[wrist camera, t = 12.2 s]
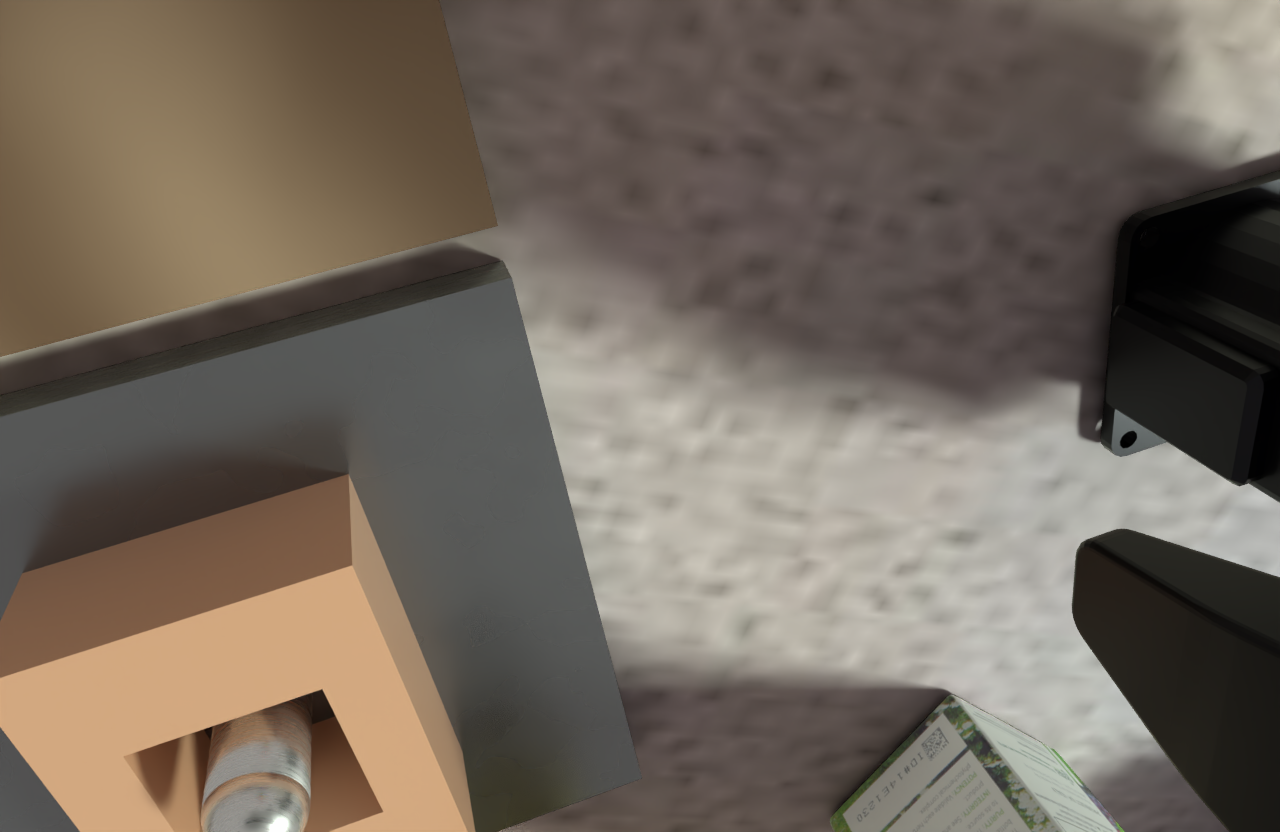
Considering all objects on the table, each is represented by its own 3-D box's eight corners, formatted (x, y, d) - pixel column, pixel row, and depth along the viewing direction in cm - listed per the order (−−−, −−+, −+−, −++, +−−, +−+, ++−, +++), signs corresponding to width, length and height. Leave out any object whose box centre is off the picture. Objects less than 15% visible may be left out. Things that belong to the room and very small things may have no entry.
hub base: (502, 260, 18) (561, 378, 14) (631, 749, 25) (698, 934, 21) (-302, 477, 16) (-553, 704, 12) (85, 946, 23) (26, 1202, 19)
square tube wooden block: (348, 473, 18) (352, 564, 16) (462, 751, 22) (480, 859, 20) (21, 573, 17) (-30, 687, 15) (202, 844, 21) (185, 969, 19)
